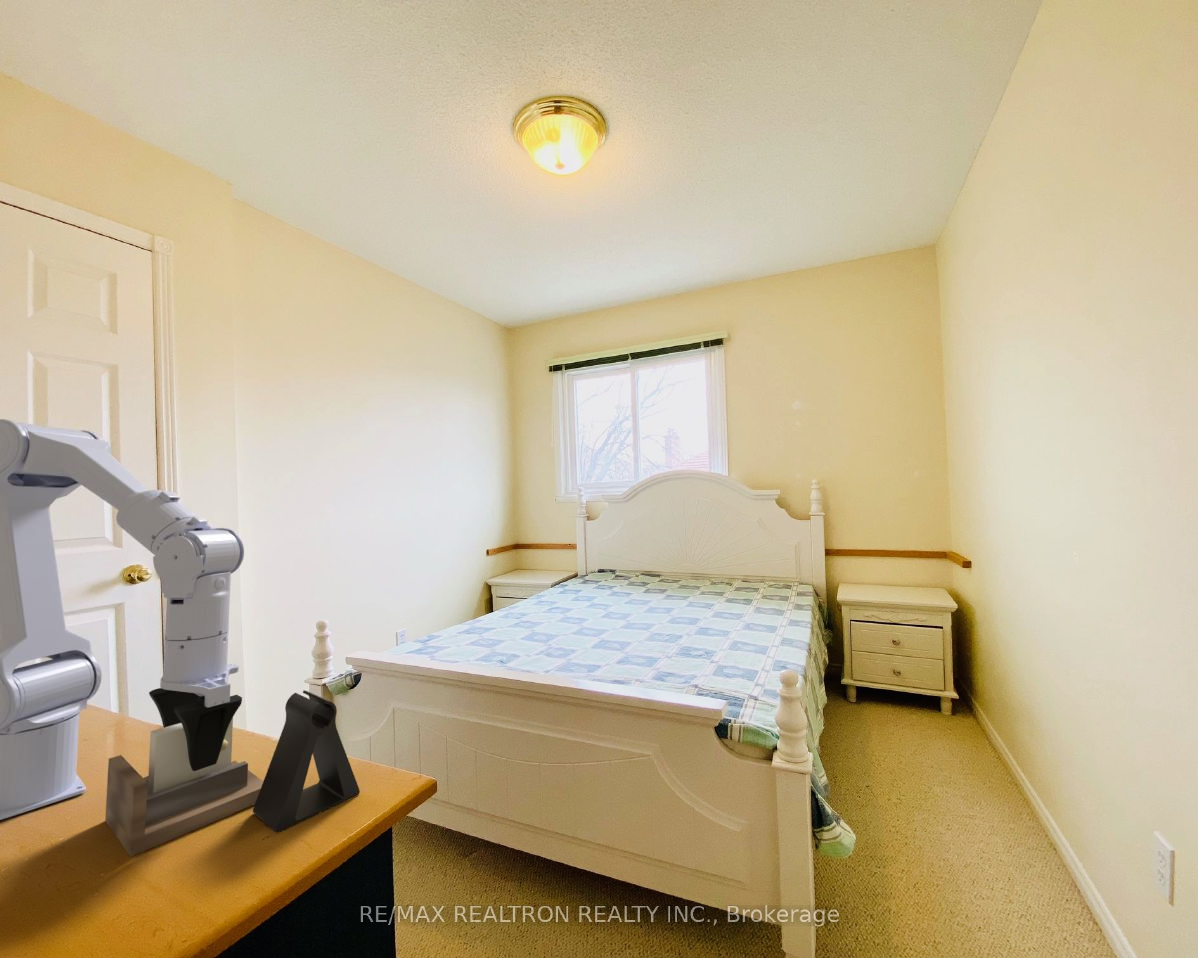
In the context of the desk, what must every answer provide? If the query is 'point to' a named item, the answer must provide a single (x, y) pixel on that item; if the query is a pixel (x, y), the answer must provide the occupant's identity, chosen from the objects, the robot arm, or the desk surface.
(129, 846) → the brown base with rails
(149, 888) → the desk surface
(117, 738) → the desk surface
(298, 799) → the phone stand
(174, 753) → the cabinet door
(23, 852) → the desk surface
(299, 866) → the desk surface
